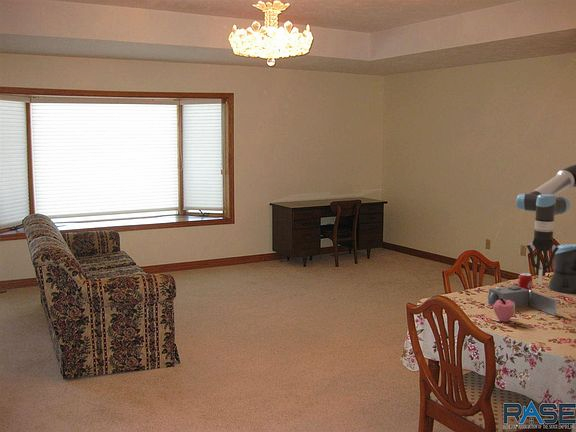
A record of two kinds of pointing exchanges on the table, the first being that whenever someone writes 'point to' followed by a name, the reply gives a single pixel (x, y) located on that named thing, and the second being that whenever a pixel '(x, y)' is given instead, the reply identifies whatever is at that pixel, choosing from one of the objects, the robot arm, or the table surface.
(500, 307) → the apple
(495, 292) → the grey knobbed block
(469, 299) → the table surface
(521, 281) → the beverage can
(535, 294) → the side door
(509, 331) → the table surface
